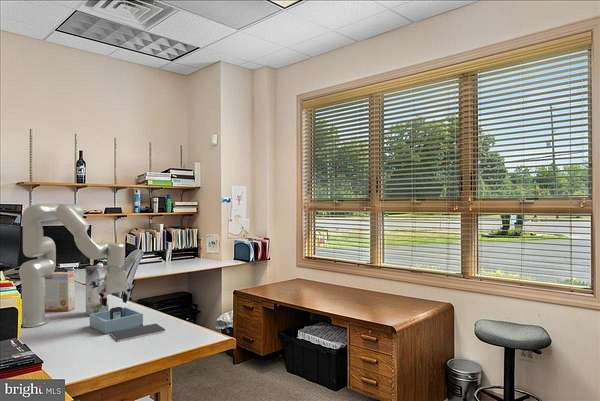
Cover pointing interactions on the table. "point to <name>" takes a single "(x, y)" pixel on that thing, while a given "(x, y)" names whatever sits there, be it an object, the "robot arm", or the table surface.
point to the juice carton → (93, 282)
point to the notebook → (137, 332)
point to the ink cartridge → (115, 313)
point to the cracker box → (59, 291)
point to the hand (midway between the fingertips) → (114, 304)
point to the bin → (116, 321)
